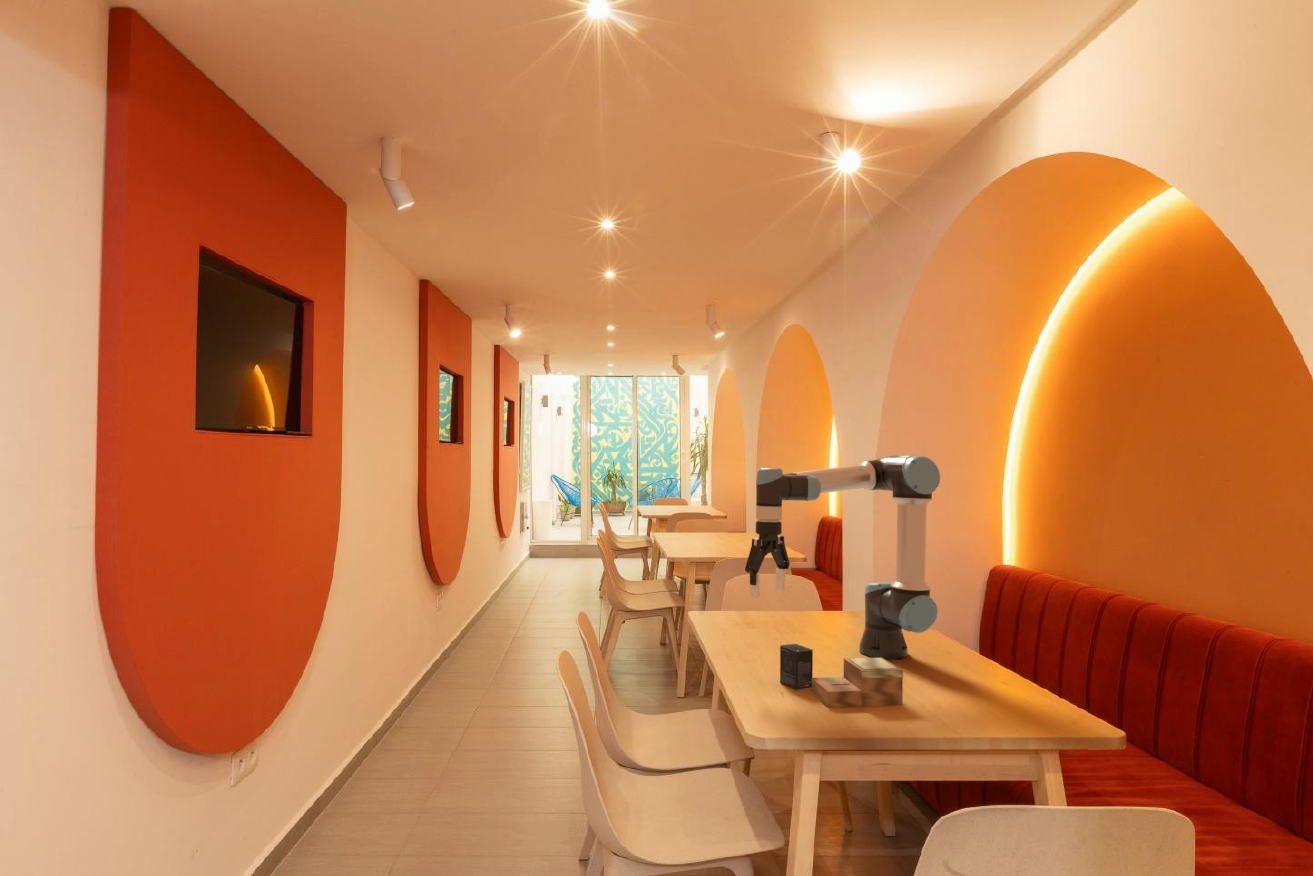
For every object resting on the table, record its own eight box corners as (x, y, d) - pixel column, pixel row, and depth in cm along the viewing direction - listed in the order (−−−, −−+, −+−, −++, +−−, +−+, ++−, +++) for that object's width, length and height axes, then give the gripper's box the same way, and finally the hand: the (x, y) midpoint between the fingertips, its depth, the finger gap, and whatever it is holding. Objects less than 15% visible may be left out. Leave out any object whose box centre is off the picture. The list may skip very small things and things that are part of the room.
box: (813, 688, 202) (813, 649, 202) (796, 690, 199) (796, 651, 200) (795, 680, 209) (796, 642, 209) (779, 682, 207) (779, 644, 207)
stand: (882, 690, 200) (882, 656, 201) (902, 705, 188) (903, 669, 188) (811, 692, 198) (811, 658, 198) (828, 708, 185) (828, 671, 186)
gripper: (780, 518, 227) (779, 587, 226) (733, 521, 208) (732, 597, 207) (801, 519, 222) (800, 590, 221) (755, 523, 203) (754, 600, 202)
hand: (767, 593), depth 214 cm, fingers open, 13 cm apart
